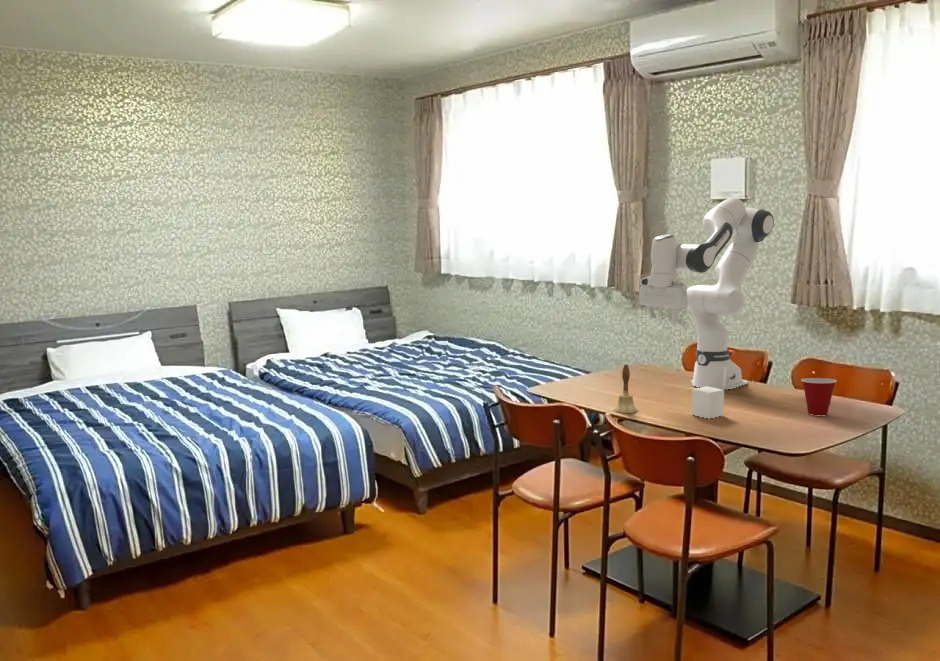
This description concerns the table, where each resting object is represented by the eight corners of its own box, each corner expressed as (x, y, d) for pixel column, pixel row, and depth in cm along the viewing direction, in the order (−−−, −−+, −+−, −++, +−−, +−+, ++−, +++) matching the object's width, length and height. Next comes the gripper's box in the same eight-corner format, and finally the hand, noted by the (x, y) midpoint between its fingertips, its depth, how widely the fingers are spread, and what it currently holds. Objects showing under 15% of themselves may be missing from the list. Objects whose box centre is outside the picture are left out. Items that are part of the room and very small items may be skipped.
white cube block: (706, 411, 277) (706, 386, 276) (723, 415, 271) (724, 389, 270) (691, 415, 273) (692, 389, 272) (709, 419, 267) (709, 392, 266)
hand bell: (608, 409, 283) (609, 363, 281) (629, 406, 287) (629, 361, 284) (622, 414, 276) (622, 367, 274) (643, 411, 279) (643, 365, 277)
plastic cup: (827, 410, 276) (828, 375, 274) (840, 418, 265) (842, 381, 264) (794, 410, 276) (796, 375, 275) (806, 418, 266) (808, 382, 264)
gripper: (692, 282, 284) (691, 321, 286) (648, 278, 301) (648, 316, 303) (679, 283, 280) (679, 323, 282) (636, 279, 297) (636, 317, 299)
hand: (662, 319), depth 293 cm, fingers open, 8 cm apart
